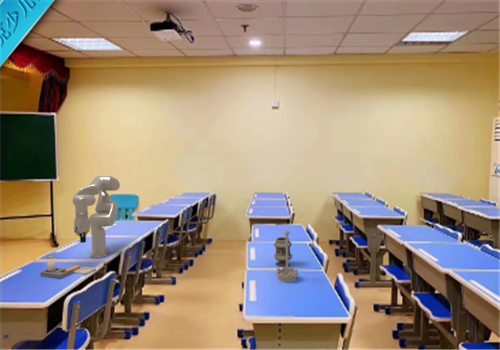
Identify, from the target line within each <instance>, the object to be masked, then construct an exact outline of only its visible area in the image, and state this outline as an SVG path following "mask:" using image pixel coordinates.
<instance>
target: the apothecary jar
mask: <svg viewBox="0 0 500 350" xmlns="http://www.w3.org/2000/svg"><path fill="white" fill-rule="evenodd" d="M273 247H275V253H274V254H273V257H274V259H275V260H276V261H277V262H276V263H275V265H276V266H277V267H279V268H280V267H281V268H282V267H286V236H280V237H277V238H276V240H275V241H274V243H273ZM291 247H292V242H291V241H290V238H289V237H288V267H290V265H291V263H290V262H289V261H290V260H292V258H293V254H291Z"/></svg>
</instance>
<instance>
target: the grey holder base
mask: <svg viewBox="0 0 500 350" xmlns="http://www.w3.org/2000/svg"><path fill="white" fill-rule="evenodd" d="M66 269H67V268H65V267H64V268H62V267H56V271H54V272H48V268H47V269H45V270H43V271H40V277H43V278H49V279H50V278H52V279H55V280H57V279H58V280H63V279H64V278H67V277H68V276H69V277H70V276H71V275H73V274H74V272H73V270H68V271H66V272H65V270H66Z"/></svg>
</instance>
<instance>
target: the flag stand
mask: <svg viewBox="0 0 500 350" xmlns="http://www.w3.org/2000/svg"><path fill="white" fill-rule="evenodd" d="M289 235H290V231H289V230H285V232H284V236H285V237H286V267H281V268H280V267H278V268H277V269H276V270H275V271H276V272H275V274H276V276H277V280H278V281H279V282H281V283H293V282H296V281H297V277H298V275H299V270H298V269H297V268H295V267H292V266H291V267H290V266H288V262H289V261H288V238H289Z"/></svg>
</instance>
